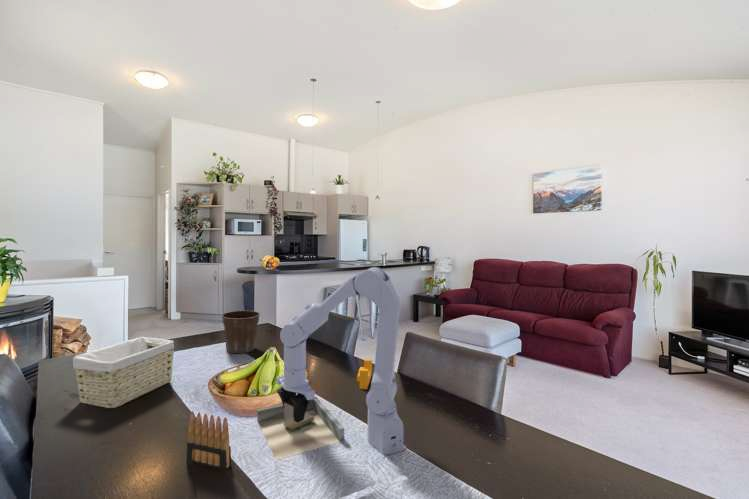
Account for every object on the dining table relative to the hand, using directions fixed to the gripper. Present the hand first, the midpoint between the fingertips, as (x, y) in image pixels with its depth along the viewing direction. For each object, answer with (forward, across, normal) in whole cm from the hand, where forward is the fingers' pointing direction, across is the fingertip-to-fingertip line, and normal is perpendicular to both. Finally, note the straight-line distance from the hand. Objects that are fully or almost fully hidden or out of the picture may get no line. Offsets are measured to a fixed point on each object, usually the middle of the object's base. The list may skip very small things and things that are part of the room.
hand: (294, 417), depth 98 cm
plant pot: (+4, +74, -23) cm, 77 cm away
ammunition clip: (+4, +1, +22) cm, 23 cm away
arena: (+3, -2, 0) cm, 4 cm away
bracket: (+2, 0, -1) cm, 2 cm away
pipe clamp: (+4, +10, -36) cm, 38 cm away
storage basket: (+4, +58, +24) cm, 63 cm away
